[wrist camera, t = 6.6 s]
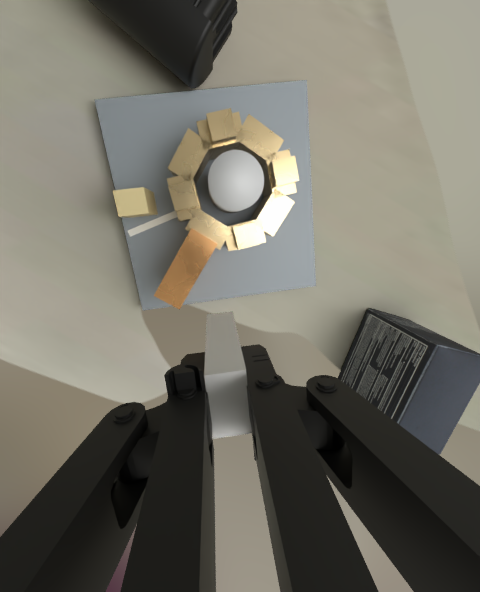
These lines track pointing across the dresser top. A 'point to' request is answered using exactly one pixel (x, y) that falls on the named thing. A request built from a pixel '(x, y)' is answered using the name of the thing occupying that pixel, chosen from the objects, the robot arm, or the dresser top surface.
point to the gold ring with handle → (202, 227)
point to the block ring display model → (209, 188)
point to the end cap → (176, 31)
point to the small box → (412, 375)
